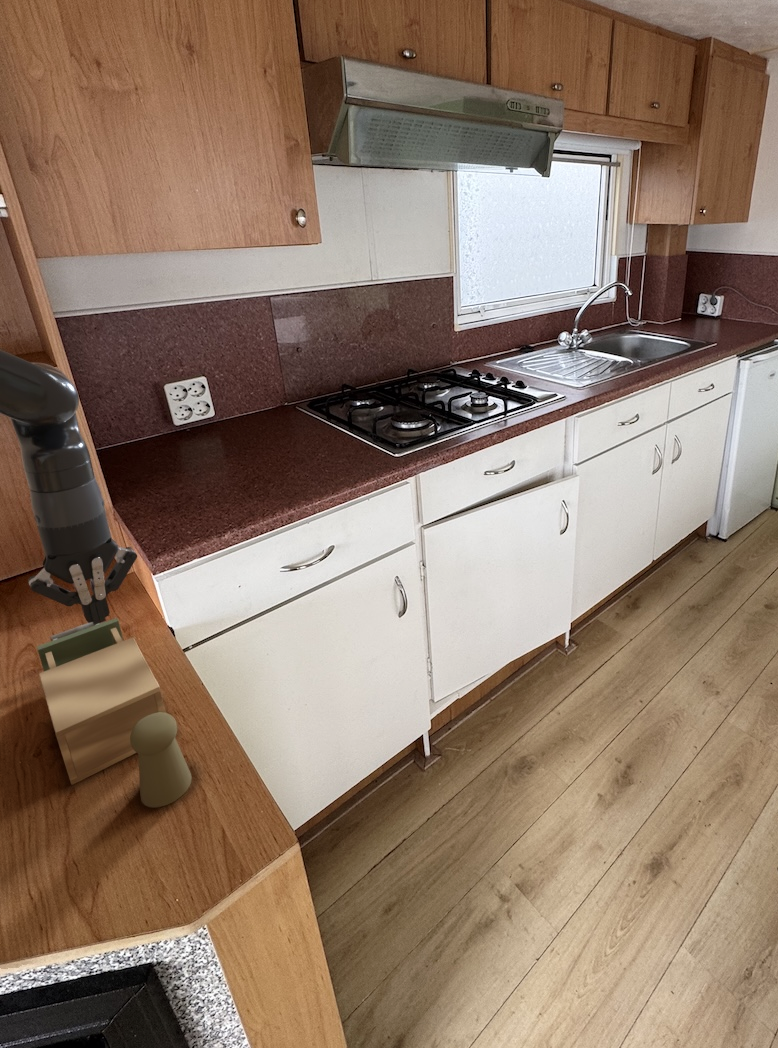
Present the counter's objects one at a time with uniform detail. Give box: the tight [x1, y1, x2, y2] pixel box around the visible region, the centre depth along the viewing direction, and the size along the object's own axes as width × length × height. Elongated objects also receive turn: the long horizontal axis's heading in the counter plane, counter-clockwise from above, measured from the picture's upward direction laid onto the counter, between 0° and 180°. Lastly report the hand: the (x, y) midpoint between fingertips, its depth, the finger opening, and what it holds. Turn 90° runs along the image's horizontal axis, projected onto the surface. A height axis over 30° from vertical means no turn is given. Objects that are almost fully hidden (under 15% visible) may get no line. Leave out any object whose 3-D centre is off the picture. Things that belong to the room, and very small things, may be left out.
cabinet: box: [38, 637, 166, 786], centre depth 85 cm, size 15×12×9 cm
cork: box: [130, 712, 193, 808], centre depth 75 cm, size 6×6×11 cm
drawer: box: [36, 617, 124, 672], centre depth 93 cm, size 19×11×7 cm, turn 44°
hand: (98, 620), depth 83 cm, fingers closed
